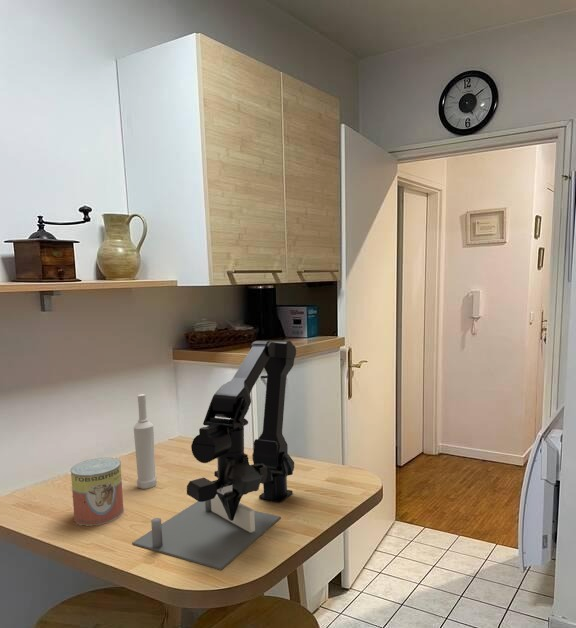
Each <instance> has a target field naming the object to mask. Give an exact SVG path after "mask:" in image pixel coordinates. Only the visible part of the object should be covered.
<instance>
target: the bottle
mask: <svg viewBox="0 0 576 628" xmlns="http://www.w3.org/2000/svg"><path fill="white" fill-rule="evenodd" d="M146 397H147V396H146V394H144V393H141V394H138V395H137V404H138V420H137V423H136V424H135V425H133V435H134V436H133V438H134V449H135V450H134V451H135V459H136V472H137V479H136V485H137V487H138V488H139V489H141V490H149V489H151V488H153V487H155V486H156V485H157V476H156V463H155V461H156V460H155V458H156V457H155V435H154V433H155V432H154V424H153V423H152V422H151V421H149V418H147V401H146V400H147V399H146Z"/></svg>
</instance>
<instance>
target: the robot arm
mask: <svg viewBox="0 0 576 628" xmlns="http://www.w3.org/2000/svg"><path fill="white" fill-rule="evenodd" d="M296 356H297V348H296V346H295V345H294V344H293V342H292V340H255V341H253V342H252V343H251V345H250V350H249V352H248V353H247V355H246V356H245V358H244V359H243V360H242V362H241V364H240V366H239V367H238V369H237V370H236V372H235V374H234V376H233V377H232V379H230V380H229V381H228V382H226V383H224V384H222V385H221V386H220V387H219V388H218V389H217V391H216V392H215V393H214V394H213V396H212V398H211V400H210V403H209V406H208V408H207V411H206V414H205V417H204V419H203V422H202V425H203V426H202V427H199V429H198V430H199V434H197V435H195V437H194V438H193V440H192V442H191V445H190V446H191V448H190V449H191V452H192V455H193V457H194V458H195V460H197V461H198V462H199V463H203V464H207V463H210V462H213V461H214V460H216V459H217V470H214V477H216V478H217V479H214V480H210V479H207V478H206V477H201V478H197V479H193V480H190V481H188V483H187V486H186V495H188V496H189V497H191V498H192V499H193V500H196V502H197V501H199V502H204V501H207V500H211V499H214V498H215V496H216V495H218V497H219V499H220V500H221V502H222V504H223V507H224V509H225V511H226V513H227V516H228V518H229V520H231V521H233V519H234V517H235V514H236V511H237V508H238V505H239V503H241V502H240V501H241V500H242V498H243V496H244V495H248V494H249V493H252V492H257V491H259V489H260V485H261V484H262V485H263V492H262V493H261V494H260V495H259V496H258V498H259V499H260V500H266V501H271V502H276V503H282V502H284V501H285V500H286V499H287V498H288V497H290V496H291V495H292V494H293V490H291V489H288V480H287V479H288V477H289V476H292V475H293V474H294V473H293V472H294V471H295V460H293V459H292V457H291V456H290V454H289V453H288V443H287V441H286V439H285V436H284V434H283V428H284V427H283V425H284V412H285V398H286V386H287V385H286V384H287V376H288V374H289V373H290V372H291V370H292V369H293V367H294V364H295V358H296ZM263 370H264V371H265V372H266V385H265V386H266V387H265V398H264V399H265V401H264V410H263V411H264V414H263V422H262V423H263V424H262V433H261V434H260V436H259V437H258V438H255V440H254V442H253V451H252V456H251V458H252V462H253V464H250V462H249V457H248V455H249V454H247V453H245V426H248V424H249V421H248V420H247V419H246V418H245V417H246V416H247V414H248V411H249V409H250V406H251V403H252V397H251V392H252V390H253V388H254V387H255V385H256V383H257V381H258V379H259V378H260V376H261V374H262V373H263ZM204 426H205V427H204Z"/></svg>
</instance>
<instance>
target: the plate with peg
mask: <svg viewBox="0 0 576 628" xmlns="http://www.w3.org/2000/svg"><path fill="white" fill-rule="evenodd" d="M254 519H255V531H253V532H251V533H250V532H248V531H247V530H245V529H243V528H241V527H239V526H238V525H236V524H234V523H232V522H230V521H229V520H227V519H225V518H223V517H221V516H220V515H218V514H216V513H214V512H212V511H207V510H206V509H205V501H204V502H199V501H197V500H196V502H194V503H193V504H191V505H189V506H188V507H185V509H183V510H182V511H180V512H178V513H177V514H175V515H173V516H172V517H170V518H168V519H167V520H165V521H164V522H163V523H162V518H160V517H155V518H152V519H150V522H151V524H150V525H151V530H149V531H148V532H147V533H145V534H144V535H142V536H140V537H139V538H137V539H136V540H134V541H132V543H131V544H132V545H134V546H136V547H141V548H143V547H144V549H147V550H151V551H154V552H157V553H161V554H165V555H168V556H172V557H175V558H178V559H182V560H186V561H189V562H192V563H195V564H199V565H202V566H205V567H210V568H212V569H216V570H220V571H222V570H223V569H224V568H226V567H227V565H229V564H230V563H231V562H232V561H234V559H236V558H237V557H238V556H239V555H240V554H241V553H242V552H244V551H245V550H246V549H247V548H249V546H251V545H252V544H253V543H254V542H255V541H256V540H258V538H260V537H261V536H262V535H263V534H264V533H265V532H266V531H268V530H269V529H271V527H273V525H275V524H276V523H277V522H278V521H279V520H280V519H282V518H281V515H277V514H276V515H275V514H270V513H267V512H262V511H258V510H254Z"/></svg>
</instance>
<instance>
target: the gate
mask: <svg viewBox="0 0 576 628" xmlns="http://www.w3.org/2000/svg"><path fill="white" fill-rule="evenodd" d="M205 509H206V510H207V511H212V512H214V513H216V514H218V515H220V516H221V517H223V518H225V519H227V520H229V518H228V516H227V513H226V511H225V509H224V507H223V504H222V502H221V500H220V499H219V497H218V495H216V496H215V498H214V499H211V500H207V501H205ZM254 511H255V510H254V509H252V508H251V507H249V506H247V505H245V504H243V503H241V502H239V505H238V508H237V511H236V514H235V517H234V519H233V521H231V520H229V521H230V522H232V523H234V524H236V525H238V526H239V527H241V528H243V529H245V530H247V531H248V532H250V533H251V532H253V531H255V519H254Z"/></svg>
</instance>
